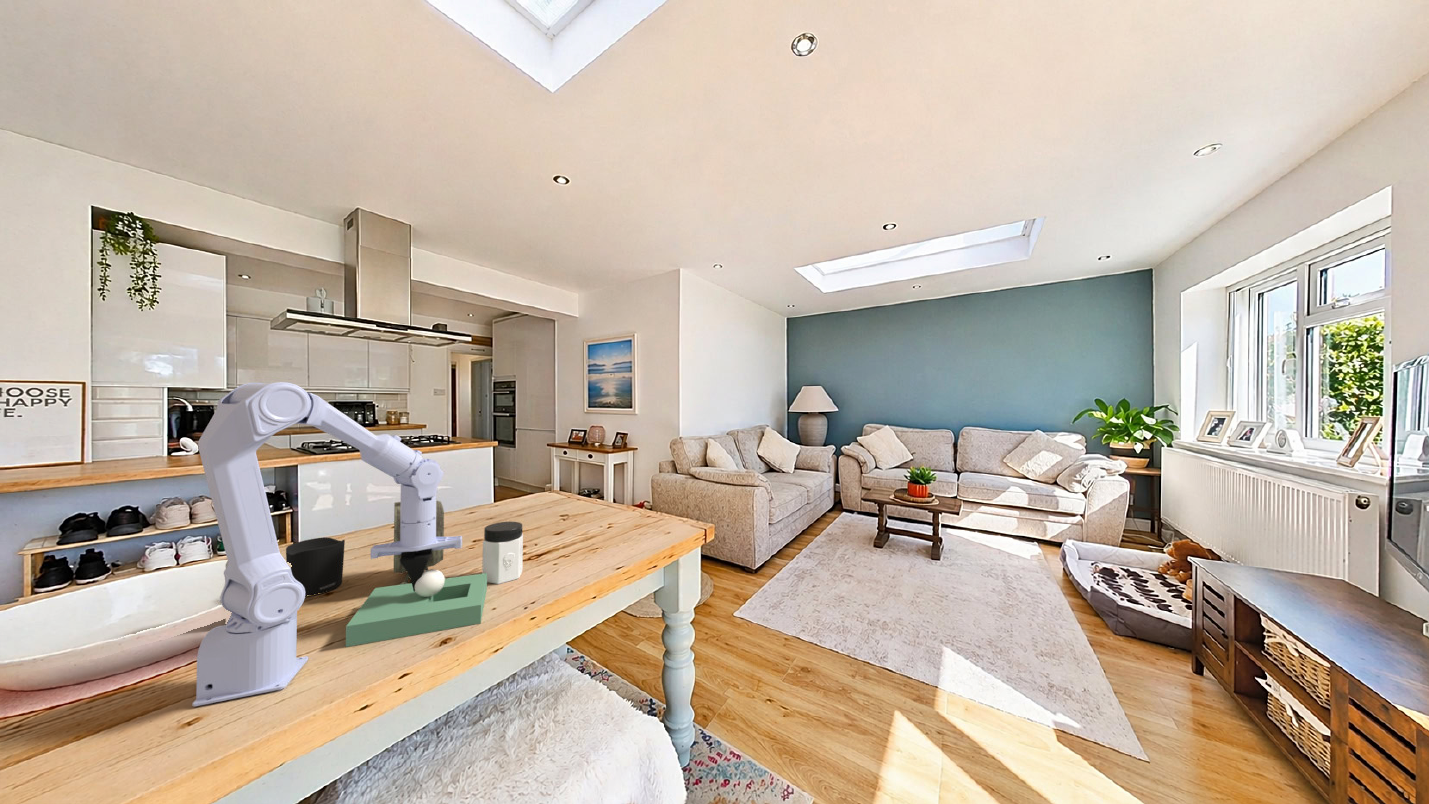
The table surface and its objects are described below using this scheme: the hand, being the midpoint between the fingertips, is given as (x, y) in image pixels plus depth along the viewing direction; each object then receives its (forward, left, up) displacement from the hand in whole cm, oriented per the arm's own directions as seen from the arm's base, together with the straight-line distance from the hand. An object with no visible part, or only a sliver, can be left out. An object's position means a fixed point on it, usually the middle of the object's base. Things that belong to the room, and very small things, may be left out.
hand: (418, 588), depth 83 cm
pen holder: (-23, +22, -5) cm, 32 cm away
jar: (+14, +14, -5) cm, 20 cm away
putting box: (+1, 0, -5) cm, 5 cm away
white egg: (+2, 0, +1) cm, 2 cm away
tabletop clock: (-4, +20, -5) cm, 21 cm away
